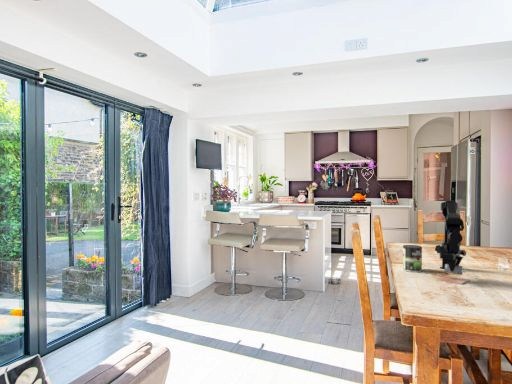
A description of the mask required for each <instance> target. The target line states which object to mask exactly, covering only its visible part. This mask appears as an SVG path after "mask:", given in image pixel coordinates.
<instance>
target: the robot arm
mask: <svg viewBox="0 0 512 384" xmlns="http://www.w3.org/2000/svg"><path fill="white" fill-rule="evenodd" d="M458 204H459V203H458V202H456V200H448V199H447V200H444V202H443V201H442V202H441V203H440V211H441V214H442V216H443V217H444V227H443V228H444V235H443V236H444V237H443V238H444V239H443V241H442V243H441V244H437V245H435V248H434V251H435V252H436V253H437V254H439V258H440V259H441V261H442V262H441V266H440V267H439V269H442V270H443V269H444V270H445V264H448V265H449V268H450V271H452V272H453V270H454V268H455V265H459V266H460V263H462V260H463V259H464V257H465V256H467V251H466V250H465V249H460V248H461V247H460V246H461V245H462V241H463V235H462V234H461V233H460V232H464V230H465V224H464V223H465V222H464V221H463V219H462V218H461V215H460V214H458V212H457V211H458V210H459V205H458Z"/></svg>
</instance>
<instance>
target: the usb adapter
mask: <svg viewBox="0 0 512 384" xmlns="http://www.w3.org/2000/svg"><path fill="white" fill-rule="evenodd" d="M463 268H464V267H463V265H460V264H459V265H455V268H454V270H453V272H452V271H450V268H449V265H448V264H445V269H444V273H447V274H451V275H459V276H460V275H463V274H464V273H467V271H468V270H467V269H466V268H465V269H463Z"/></svg>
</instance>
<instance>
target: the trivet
mask: <svg viewBox="0 0 512 384" xmlns="http://www.w3.org/2000/svg"><path fill="white" fill-rule="evenodd" d="M436 281H439V282H440V281H441V282H446V283H450V284H457V285H464V284H466V283H467V282H470V281H471V278H466V277H465V278H464V277H460V276H459V277H458V276H452V275H446V274H445V275H443V276H441V277H438V278H436Z"/></svg>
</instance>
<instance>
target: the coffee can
mask: <svg viewBox="0 0 512 384" xmlns="http://www.w3.org/2000/svg"><path fill="white" fill-rule="evenodd" d="M402 249H403V250H402V270H403V271H405V272H409V273H420V272H422V270H423V269H422V268H423V267H422V266H423V263H422V262H423V257H422V256H423V246H421V245H415V244H404V245H403V246H402Z"/></svg>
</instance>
